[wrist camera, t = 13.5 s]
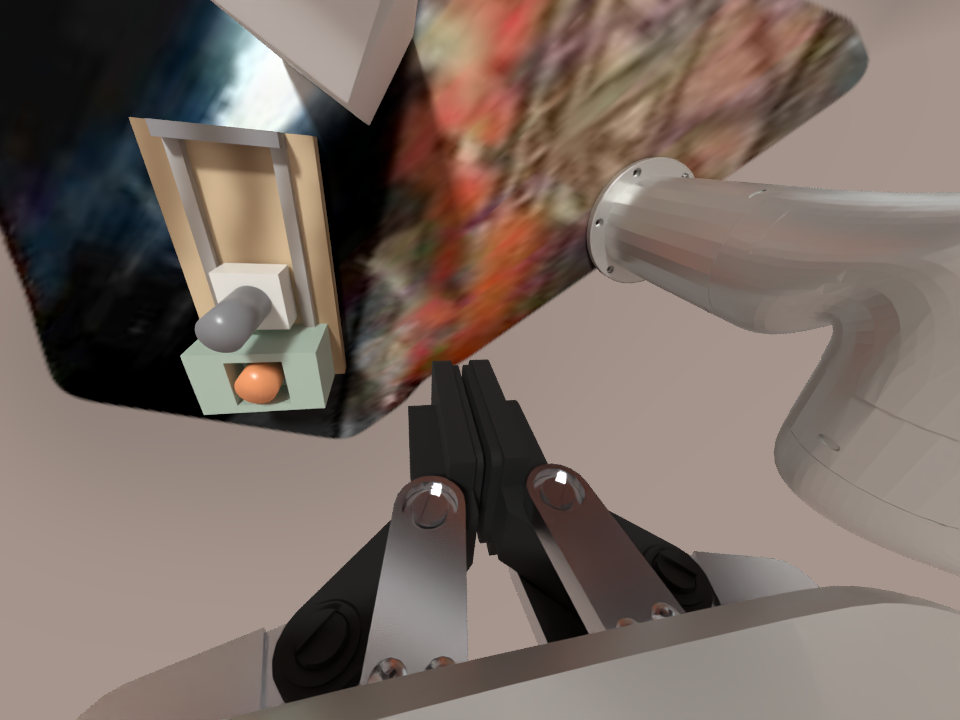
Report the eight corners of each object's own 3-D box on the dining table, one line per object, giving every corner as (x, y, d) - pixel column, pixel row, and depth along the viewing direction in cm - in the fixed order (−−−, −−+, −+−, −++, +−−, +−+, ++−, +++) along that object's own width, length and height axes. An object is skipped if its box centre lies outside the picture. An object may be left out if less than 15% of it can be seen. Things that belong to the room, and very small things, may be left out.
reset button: (282, 354, 31) (272, 372, 29) (289, 383, 33) (280, 402, 30) (243, 355, 31) (229, 373, 28) (252, 385, 32) (239, 404, 30)
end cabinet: (329, 317, 36) (315, 352, 29) (337, 366, 39) (325, 407, 32) (216, 318, 33) (174, 356, 27) (233, 370, 36) (198, 415, 30)
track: (316, 137, 28) (307, 135, 25) (346, 366, 39) (342, 383, 36) (142, 119, 25) (108, 114, 22) (226, 370, 36) (211, 389, 33)
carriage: (287, 264, 31) (251, 300, 23) (297, 316, 33) (268, 363, 26) (224, 262, 30) (165, 299, 22) (239, 316, 32) (191, 365, 25)
